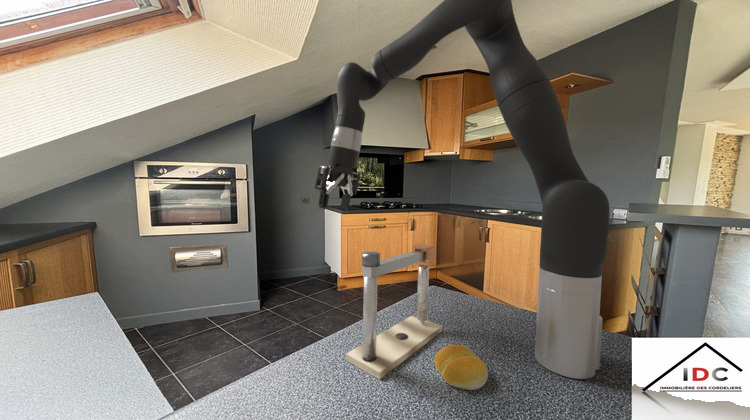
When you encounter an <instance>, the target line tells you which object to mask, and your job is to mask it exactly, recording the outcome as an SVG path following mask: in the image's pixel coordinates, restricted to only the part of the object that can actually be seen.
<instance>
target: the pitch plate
mask: <svg viewBox="0 0 750 420" xmlns="http://www.w3.org/2000/svg"><path fill="white" fill-rule="evenodd" d="M442 332H443V325H441V324H438V323H435V322H432V321H429V320H426V321H424V323H422V322H420V320H418V319H417V316H416V315H410V316H409V317H406V318H405V319H403V320H402V321H400V322H398V323H397V324H394V325H393V326H391V327H389V328H388V329H386V330H385V331H383V332H381V333H379V334H377V339H376V359H375V360H373V361H366V360H364V359H363V343H362V344H360V345H359V346H357V347H355V348H354V349H351V350H350V351H348V352H347V353H345V361H346V362H348V363H350V364H351V365H353V366H355V367H357V368H359V369H361V370H362V371H364V372H365V373H367V374H369V375H371V376H373V377H374V378H377V379H378V380H381V379H382V378H383V377H385V376H386V375H387V374H388V373H390V372H392V371H393V370H394V369H395V368H396V367H398V366H399V365H400V364H402V362H403V363H404V361H406V360H407V359H408V358H409V357H410V356H412V355H413V354H415V353H416V352H417V351H418V350H420V349H421V348H422V347H424V346H425V345H426V344H427V343H429V342H430V341H431V340H433V339H434V338H435V337H437V336H438V335H440V333H442Z"/></svg>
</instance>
